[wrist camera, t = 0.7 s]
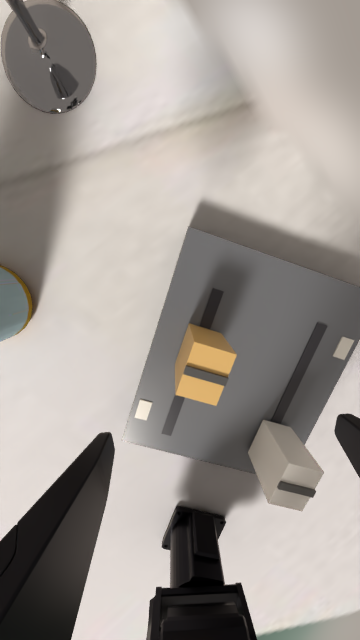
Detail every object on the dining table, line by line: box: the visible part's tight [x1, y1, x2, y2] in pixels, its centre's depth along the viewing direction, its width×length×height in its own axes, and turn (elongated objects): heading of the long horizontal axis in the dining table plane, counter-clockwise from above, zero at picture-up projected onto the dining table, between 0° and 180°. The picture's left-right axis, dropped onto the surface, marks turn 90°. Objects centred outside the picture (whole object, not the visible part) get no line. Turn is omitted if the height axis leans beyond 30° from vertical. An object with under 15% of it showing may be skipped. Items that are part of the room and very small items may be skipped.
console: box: [122, 227, 360, 474], centre depth 22 cm, size 21×18×3 cm
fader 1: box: [175, 323, 237, 406], centre depth 17 cm, size 4×3×5 cm
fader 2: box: [248, 420, 324, 511], centre depth 20 cm, size 4×3×5 cm
